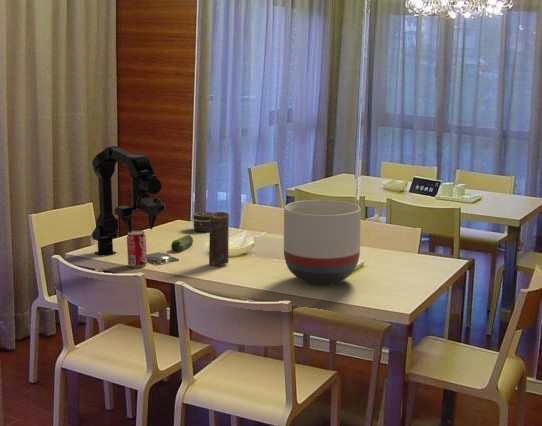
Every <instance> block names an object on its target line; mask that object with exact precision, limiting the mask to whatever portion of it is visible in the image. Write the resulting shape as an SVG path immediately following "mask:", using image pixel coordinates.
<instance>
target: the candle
mask: <svg viewBox="0 0 542 426" xmlns="http://www.w3.org/2000/svg"><path fill="white" fill-rule="evenodd" d="M229 218H230V215H229V213H228V212H224V211H216V212H212V214H211V215H210V232H209V243H208V244H209V247H208V248H209V249H208V251H209V252H208V254H209V255H208V264H209V265H212V266H216V267H220V266H223V265H226V264H228V263H229V233H230V232H229V231H230V230H229V225H230V223H229V222H230V221H229V220H230V219H229Z"/></svg>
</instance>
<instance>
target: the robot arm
mask: <svg viewBox="0 0 542 426" xmlns="http://www.w3.org/2000/svg"><path fill="white" fill-rule="evenodd" d="M118 162H119V163H122V164H123V165H125V166H126V169H127V170H128V171H130V173H129V174H128V177H129V178H131V191H130V192H129V195H130V196H131V202H130V203H129V205H130V206H127V205H121V206H120V205H119V206H116V207H114V208H113V194H112V193H113V192H112V191H113V189H112V177H113V176H114V173H115V171H116V165H117V164H118ZM91 163H92V168H93V172H94V174H95V175H96V177H97V180H98V197H99V199H98V200H99V201H98V202H99V215H98V217H97V219H96V222H95V228H94V229H93V231H92V233H91V237H92V239H93V240H95V241H97V251H94V254H96V253H97V254H96V255H98V254H99V256H101V255H106V256H110V255H109V254H111V255H115V253H116V254H117V251H114V243H113V239H117V238H118V234H119V220H118V218H116V217H115V215H116V216H117V217H120V218H121V220H122V221H123V224H124V225H125V227H126V229H127V233H128V232H129V233H131V231H132V219H133V215H132V214H133V213H135V212H141V211H142V212H143V213H145V214H147V218H148V226H149V230H153V228H154V225H155V221H156V219H157V218H158V215H160V214H161V213H162V212H163V211H165V210H166V205H165V203H164V202H163V201H161V198H159V197H155V198H151V195H157V194H159V193H160V191H161V190H162V183H161V181H160V180H159V179H158V177H157V175H156V173H155V169H154V167H153V165H152V163H151V160H150V159H149V157H148V156H147V155H144V154H133V153H131V152H129V151H127V150H125V149H123V148H120V146H117V145H113V146H107V147H106V148H104V149H103V150H102V151H101V152H98V154H96V155H95V156H94V158H93V159H92V161H91ZM113 209H114V212H113ZM113 213H114V214H113Z"/></svg>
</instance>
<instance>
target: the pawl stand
mask: <svg viewBox="0 0 542 426" xmlns="http://www.w3.org/2000/svg"><path fill="white" fill-rule="evenodd" d="M147 261H149V262H148V263H150V262H152V263H155V264H161V263H166V262H170V263H174V261H175V262H179V261H180V259H179V258H176V257H174V256H171V255H170V254H169V253H164V252H163V253H162V252H159V251H158V252H152V253H148V254H147ZM152 263H151V264H152ZM155 264H154V265H155ZM166 264H167V263H166ZM161 265H162V264H161Z"/></svg>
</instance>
